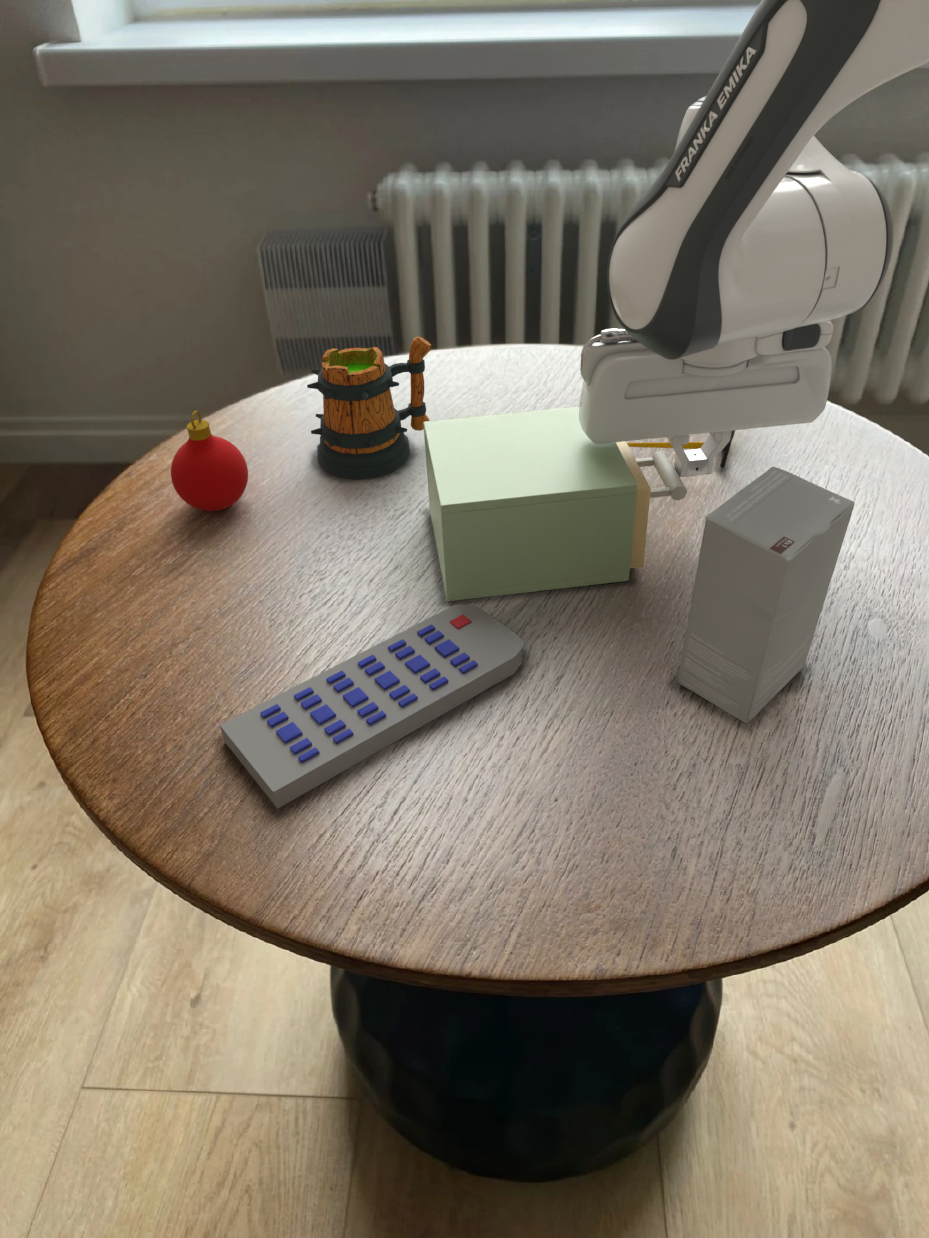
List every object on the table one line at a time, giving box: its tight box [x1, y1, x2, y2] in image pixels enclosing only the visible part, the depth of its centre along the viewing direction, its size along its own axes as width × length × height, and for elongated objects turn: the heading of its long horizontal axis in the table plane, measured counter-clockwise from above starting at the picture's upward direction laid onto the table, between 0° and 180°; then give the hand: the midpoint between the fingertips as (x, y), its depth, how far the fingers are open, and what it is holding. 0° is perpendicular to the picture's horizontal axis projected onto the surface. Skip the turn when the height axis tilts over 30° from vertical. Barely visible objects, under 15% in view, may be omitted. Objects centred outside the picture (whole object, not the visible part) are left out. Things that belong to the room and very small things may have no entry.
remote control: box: [219, 603, 524, 809], centre depth 71 cm, size 8×23×2 cm, turn 127°
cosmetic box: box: [676, 466, 855, 724], centre depth 67 cm, size 8×7×16 cm
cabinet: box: [423, 405, 637, 602], centre depth 83 cm, size 16×14×10 cm
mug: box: [306, 336, 432, 480], centre depth 96 cm, size 13×10×12 cm
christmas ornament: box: [170, 410, 249, 512], centre depth 90 cm, size 7×7×10 cm
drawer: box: [616, 441, 688, 569], centre depth 84 cm, size 19×12×8 cm, turn 98°
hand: (692, 472), depth 84 cm, fingers closed
